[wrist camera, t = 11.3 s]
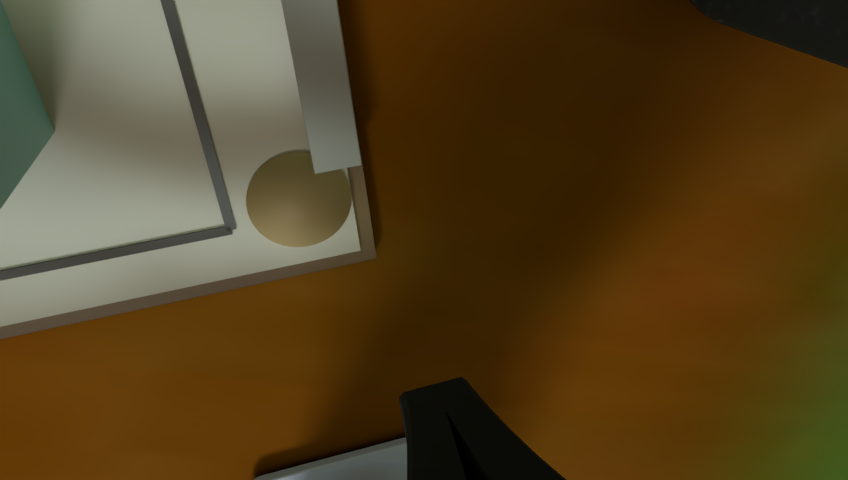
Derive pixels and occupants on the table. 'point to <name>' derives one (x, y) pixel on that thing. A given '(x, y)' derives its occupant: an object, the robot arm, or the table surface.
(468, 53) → the table surface
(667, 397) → the table surface
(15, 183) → the teal banded box
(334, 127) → the clipboard with paper sheet
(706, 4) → the travel mug
